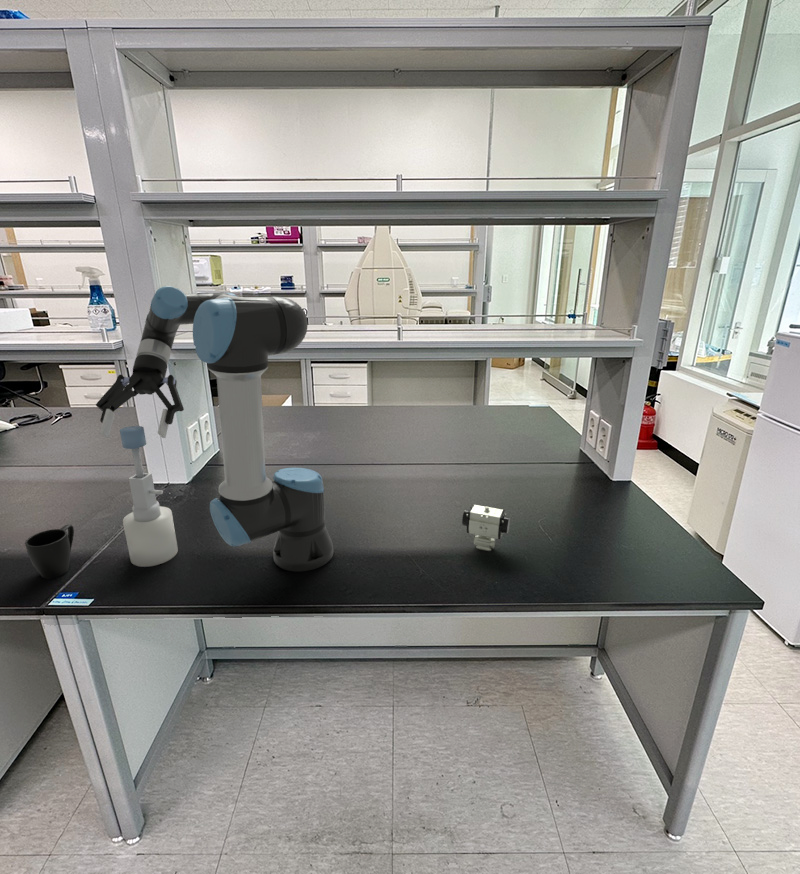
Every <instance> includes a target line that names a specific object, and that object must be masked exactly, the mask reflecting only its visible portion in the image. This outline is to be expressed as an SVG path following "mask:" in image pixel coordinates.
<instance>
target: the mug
mask: <svg viewBox="0 0 800 874" xmlns="http://www.w3.org/2000/svg"><path fill="white" fill-rule="evenodd" d="M74 536H75V529H74V526H73V525H72V524H66V525H64V526H63V527H61V528H54V529H47V530H44V531H40V532H38V533H35V534H33V535H31V536H29V537H28V538H27V539H26V540H25V542H24V543H25V544H24V546H25V549H26V552H27V556H28V558H29V560H30V562H31V564H32V566H33V568H35V570H36V571H37V573H38V574H39V575H40V576H41V578H43V579H47V580H48V579H55V578H58V577H60V576H63V575H65V574H66V573H67V572H68V571H69V569H70V559H71V550H72V545H73V542H74Z"/></svg>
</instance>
